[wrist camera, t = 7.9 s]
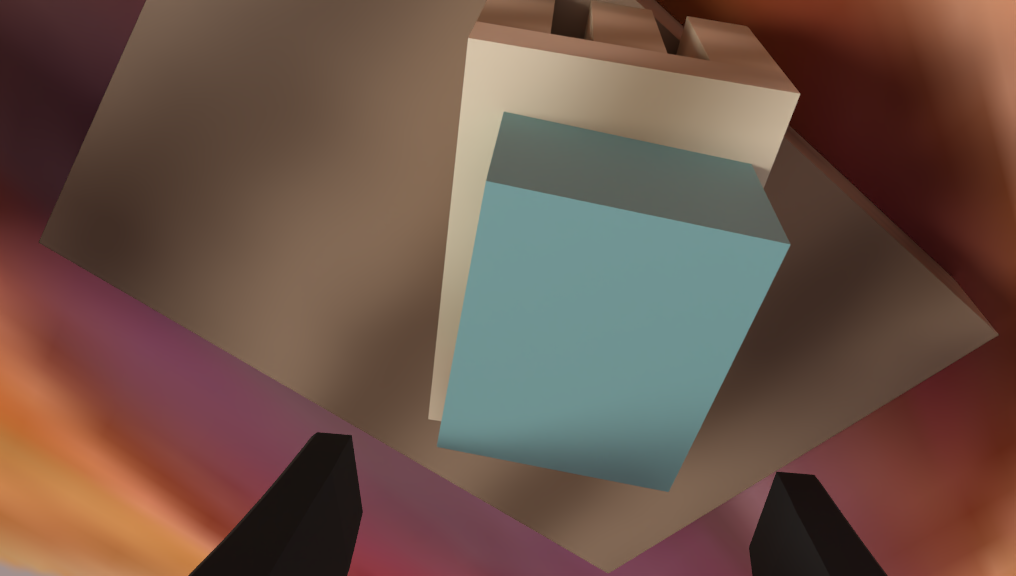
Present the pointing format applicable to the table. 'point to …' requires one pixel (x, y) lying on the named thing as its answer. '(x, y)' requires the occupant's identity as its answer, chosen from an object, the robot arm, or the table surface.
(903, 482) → the table surface
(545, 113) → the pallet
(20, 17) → the table surface
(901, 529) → the table surface
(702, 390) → the teal block
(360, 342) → the dock
